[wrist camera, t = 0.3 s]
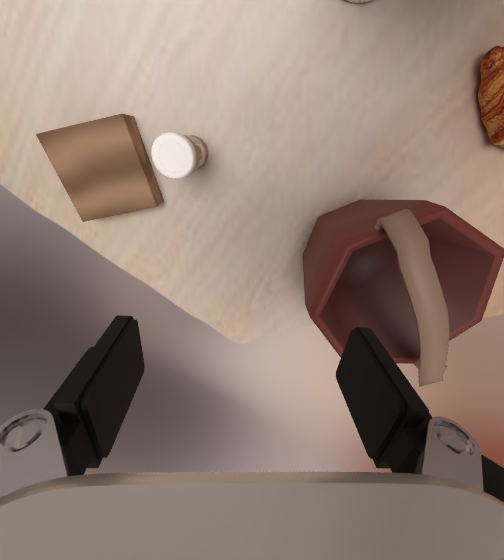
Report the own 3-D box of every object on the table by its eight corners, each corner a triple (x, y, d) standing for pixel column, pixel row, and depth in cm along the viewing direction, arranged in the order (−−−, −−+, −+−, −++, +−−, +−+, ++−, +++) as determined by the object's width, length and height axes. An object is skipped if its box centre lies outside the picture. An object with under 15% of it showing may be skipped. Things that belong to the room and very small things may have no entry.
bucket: (397, 292, 52) (508, 401, 31) (293, 309, 54) (328, 426, 32) (414, 167, 40) (616, 198, 19) (279, 192, 42) (321, 249, 20)
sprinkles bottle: (200, 174, 40) (183, 187, 28) (173, 157, 39) (143, 165, 27) (213, 146, 38) (201, 148, 26) (185, 128, 37) (159, 121, 25)
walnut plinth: (55, 134, 37) (35, 134, 33) (133, 116, 36) (121, 113, 32) (95, 215, 42) (82, 221, 39) (163, 200, 42) (156, 206, 38)
